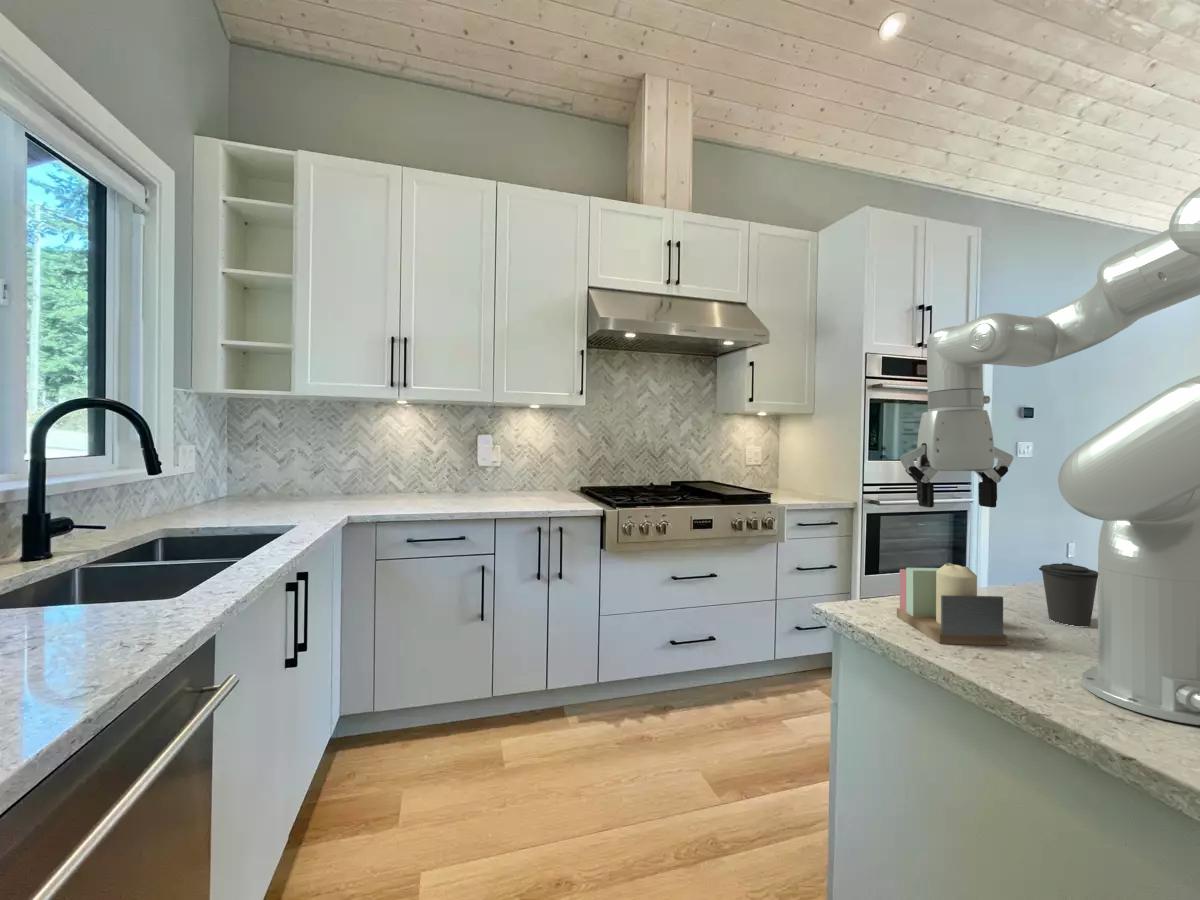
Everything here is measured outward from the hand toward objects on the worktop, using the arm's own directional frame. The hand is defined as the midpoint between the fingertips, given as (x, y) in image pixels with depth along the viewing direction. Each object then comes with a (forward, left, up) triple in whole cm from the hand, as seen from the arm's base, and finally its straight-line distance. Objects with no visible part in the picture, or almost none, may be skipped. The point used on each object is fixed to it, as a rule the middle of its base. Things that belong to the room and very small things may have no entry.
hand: (956, 506), depth 83 cm
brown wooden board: (+2, 0, -21) cm, 21 cm away
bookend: (-4, 0, -20) cm, 20 cm away
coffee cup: (+8, -24, -21) cm, 33 cm away
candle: (0, 0, -20) cm, 20 cm away
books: (+7, 0, -20) cm, 21 cm away
